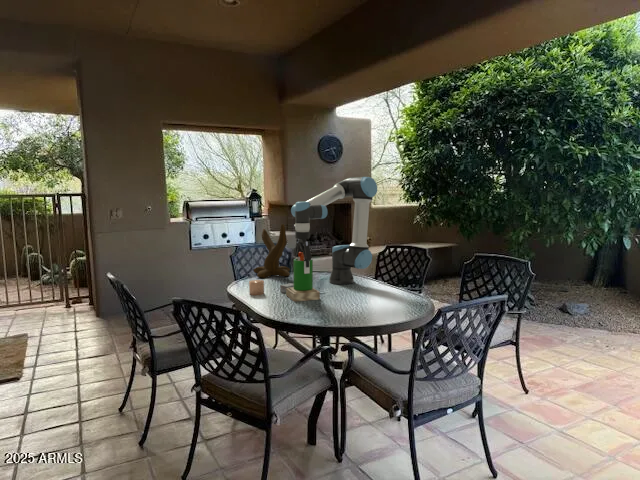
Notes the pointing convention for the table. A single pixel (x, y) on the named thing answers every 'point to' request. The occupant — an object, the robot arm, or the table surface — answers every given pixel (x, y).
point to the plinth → (302, 294)
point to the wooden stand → (273, 256)
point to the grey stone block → (283, 287)
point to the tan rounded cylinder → (256, 287)
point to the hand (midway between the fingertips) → (302, 271)
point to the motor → (302, 274)
